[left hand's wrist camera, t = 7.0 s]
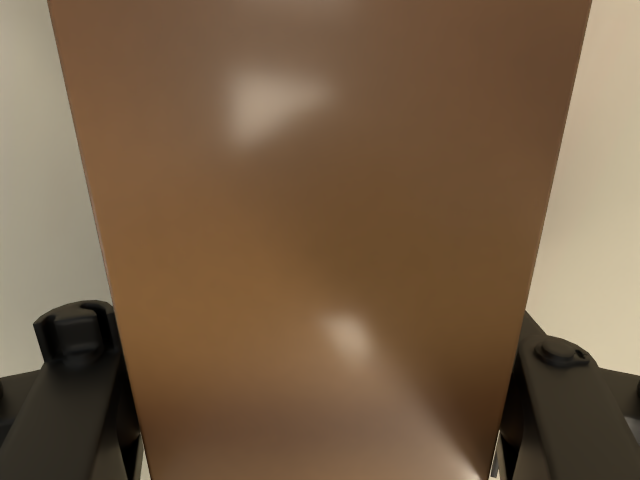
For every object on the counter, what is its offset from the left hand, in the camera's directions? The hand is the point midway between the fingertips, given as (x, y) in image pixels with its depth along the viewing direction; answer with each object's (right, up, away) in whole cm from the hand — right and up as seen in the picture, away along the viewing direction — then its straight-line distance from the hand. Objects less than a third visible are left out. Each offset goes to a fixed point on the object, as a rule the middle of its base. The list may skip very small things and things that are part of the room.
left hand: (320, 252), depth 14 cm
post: (0, +31, -12) cm, 33 cm away
